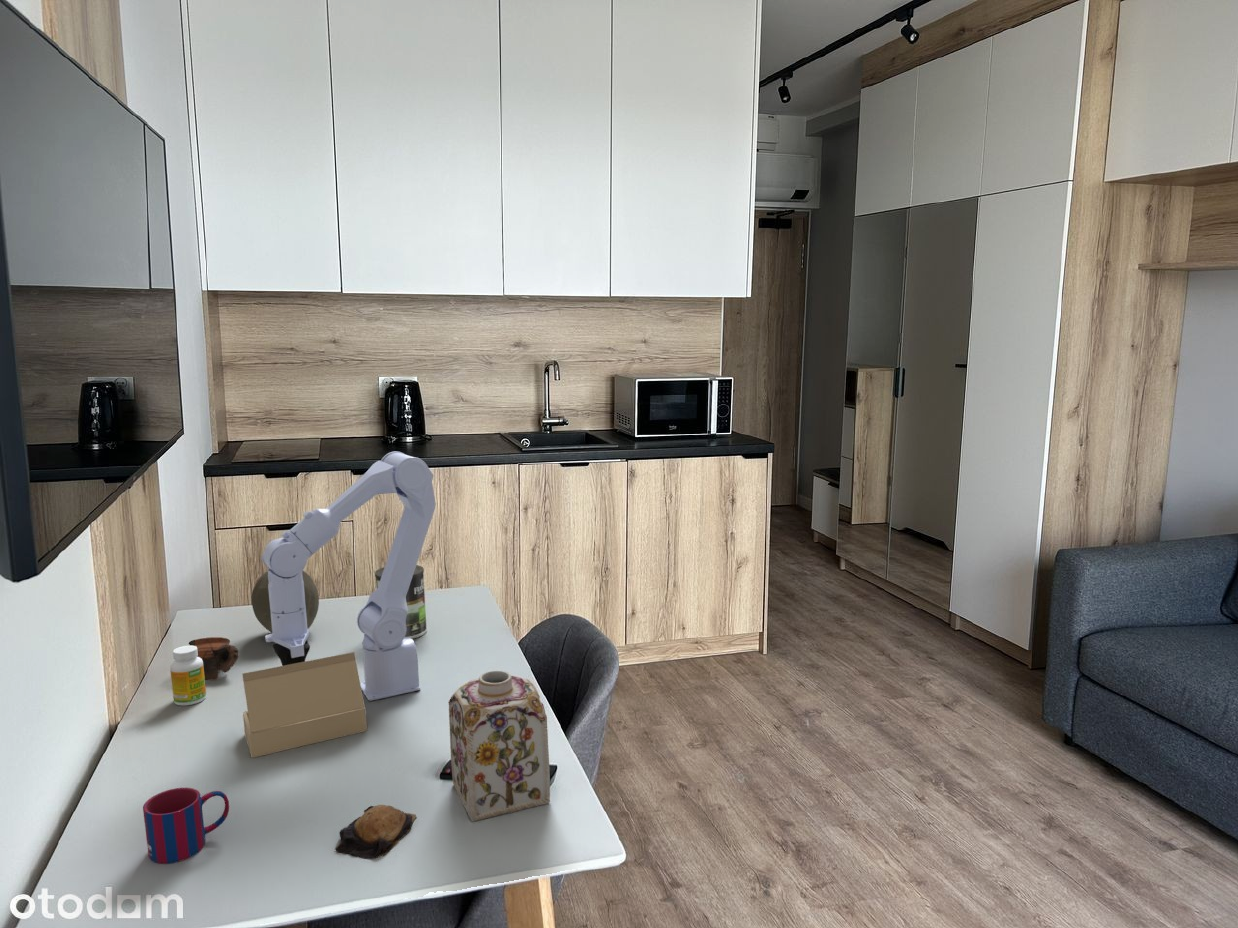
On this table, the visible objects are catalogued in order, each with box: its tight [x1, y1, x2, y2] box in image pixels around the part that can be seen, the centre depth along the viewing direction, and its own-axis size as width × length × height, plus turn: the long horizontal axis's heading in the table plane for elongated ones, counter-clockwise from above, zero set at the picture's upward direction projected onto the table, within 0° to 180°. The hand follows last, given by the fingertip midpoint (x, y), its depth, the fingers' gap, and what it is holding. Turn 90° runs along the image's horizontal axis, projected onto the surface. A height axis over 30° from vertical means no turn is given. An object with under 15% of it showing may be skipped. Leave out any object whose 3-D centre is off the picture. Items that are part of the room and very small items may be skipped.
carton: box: [242, 707, 368, 759], centre depth 149 cm, size 18×9×4 cm, turn 119°
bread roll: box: [333, 804, 418, 860], centre depth 120 cm, size 11×8×4 cm
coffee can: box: [374, 564, 428, 640], centre depth 194 cm, size 10×10×14 cm
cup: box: [142, 787, 230, 865], centre depth 117 cm, size 7×10×7 cm
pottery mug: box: [188, 636, 239, 681], centre depth 175 cm, size 12×10×8 cm
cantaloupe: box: [251, 570, 320, 633], centre depth 194 cm, size 14×14×15 cm
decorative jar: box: [448, 670, 551, 822], centre depth 128 cm, size 12×12×18 cm
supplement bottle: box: [169, 644, 207, 707], centre depth 162 cm, size 5×5×10 cm
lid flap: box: [242, 651, 366, 733], centre depth 146 cm, size 18×10×1 cm
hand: (294, 682), depth 156 cm, fingers closed
